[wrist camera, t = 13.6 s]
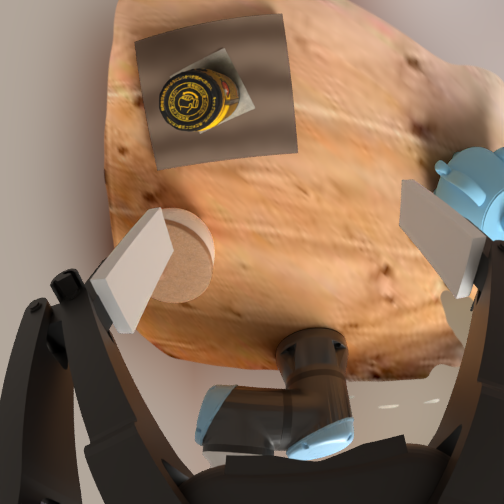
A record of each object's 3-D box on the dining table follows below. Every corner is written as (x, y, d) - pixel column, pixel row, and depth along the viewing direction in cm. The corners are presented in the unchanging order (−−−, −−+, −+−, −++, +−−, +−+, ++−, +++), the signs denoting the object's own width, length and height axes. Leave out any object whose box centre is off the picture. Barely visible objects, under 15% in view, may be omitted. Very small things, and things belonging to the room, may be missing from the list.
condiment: (200, 133, 32) (170, 155, 22) (170, 76, 28) (126, 73, 18) (255, 108, 30) (250, 116, 20) (224, 48, 26) (204, 27, 16)
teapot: (423, 246, 42) (462, 299, 30) (416, 132, 33) (475, 159, 21) (488, 226, 39) (532, 268, 27) (490, 124, 30) (549, 148, 18)
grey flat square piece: (295, 148, 36) (297, 153, 33) (164, 164, 37) (157, 170, 35) (280, 19, 26) (282, 13, 24) (143, 44, 28) (134, 42, 25)
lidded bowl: (148, 186, 39) (114, 219, 30) (230, 207, 41) (219, 247, 31) (140, 255, 46) (114, 298, 36) (212, 275, 47) (200, 323, 38)
